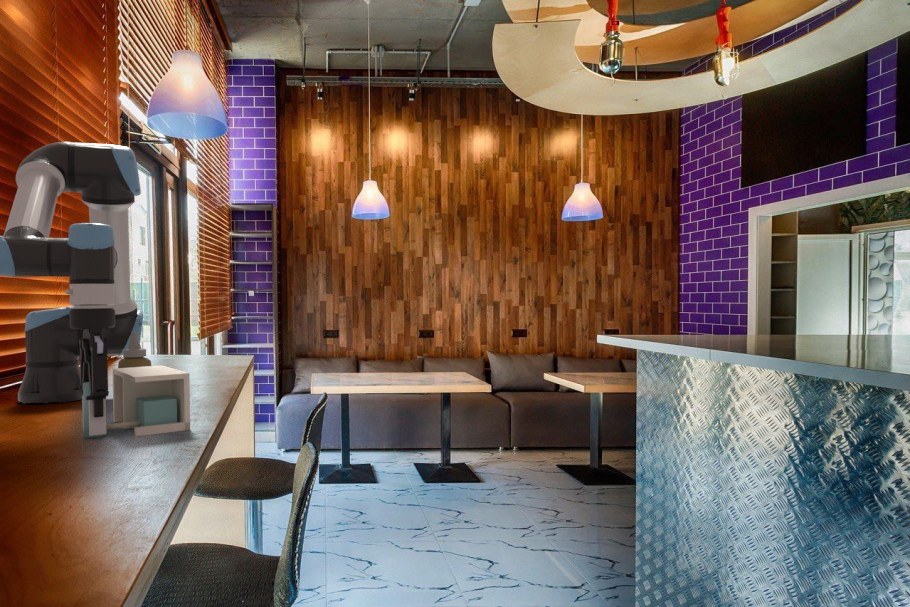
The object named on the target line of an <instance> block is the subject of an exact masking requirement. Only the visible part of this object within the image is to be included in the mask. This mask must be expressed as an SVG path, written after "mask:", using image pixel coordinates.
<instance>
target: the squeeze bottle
mask: <svg viewBox="0 0 910 607" xmlns="http://www.w3.org/2000/svg"><path fill="white" fill-rule="evenodd" d="M141 346H142V345H141V341H140V342H139V338H138V334H137V333H131V337H130V342H129V346H128V349H124V350H123V355H122V357H123V358H121V359H120V360H118V364H117V366H118V367H117V368H130V367H145V366H152V361H151V359H149V358H148V357H146V356H147V348H142V347H141Z"/></svg>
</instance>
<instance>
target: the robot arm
mask: <svg viewBox="0 0 910 607" xmlns="http://www.w3.org/2000/svg"><path fill="white" fill-rule="evenodd" d="M15 182H16V183H15V184H16V186H17V189H16V190H17V191H16V193H15V195H14V200H13V203H12V207H11V210H10V212H9V216H8V219H7V220H8V221H7V223H6V227H5V230H4V233H3V235H0V277H10V278H17V277H18V278H21V277H69V280H68V284H69V285H68V286H69V288H68V289H66V290H65V294H66V295H69V305H70V306H65V307H58V308H50V309H42V310H34V311H31V312H28V314H26V317H25V325H24V327H25V328H24V330H23V331H24V333H25V335H24V336H25V372H24V376H23V378H22V381H21V384H20V387H19V390H18V392H17V402H18V401H19V402H22V403H21V404H26V403H44V404H49V403H48V402H59V403H66V402H67V403H68V402H73V401H80V400H81V402H82V407H81V408H82V410H83V383H85V382H89V386H90V396H87V397H86V400H89V436H93V435H102V434H105V435H106V434H107V430H106V424H107V397H108V396H109V393H110V392H109V375H108V374H109V371H108V370H109V369H108V364H109V363H108V357H111V356H113V357H116V356H118V357H121V356H123V350H124V349H128V346H129V342H130V337H131V333H137V334H138V338H139V342H140V343H141V338H142V331H143V320H144V311H143V310H140V309H138V304H137V302H135V301H134V299H132V298H131V270H130V269H131V266H130V237H129V236H130V235H129V234H130V233H129V230H130V227H129V208H130V207H131V206H133V205H134V204H135V197H138V196H141V194H142V193H141V192H142V189H141V184H140V182H141V181H140V174H139V169H138V164H137V159H136V154H135V151H134V150H133V149H132V148H130V147H129V146H123V145H116V144H109V143H108V144H107V143H89V142H88V143H87V142H85V143H84V142H71V141H59V142H58V141H57V142H56V141H55V142H53V143H49V144H46V145H43V146H41V147H39V148H37V149H35V150H33V151H32V152H31V153H30V154H28V155H27V156H26V157H25V158H24V159H23V160H22V161H21V162H20V164H19V166H18V167H17V170H16V174H15ZM62 193H80V195H81V201H82V203H83V204H84V205H86V206H87V207H88V213H89V215H88V216H89V217H88V218H89V222H81V223H80V222H79V223H73V224H70V226H69V228H68V237H50V234H51V229H52V224H53V220H54V215H55V210H56V205H57V200H58V197H59V196H60V195H62ZM19 402H18V403H19ZM82 431H84V415H83V414H82Z"/></svg>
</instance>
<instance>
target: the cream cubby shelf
mask: <svg viewBox="0 0 910 607" xmlns="http://www.w3.org/2000/svg"><path fill="white" fill-rule="evenodd" d="M190 388H191V387H190V372H187V371H183V370H179V369H176V368H173V367H169V366H165V365H163V364H161V365H151V366H145V367H130V368H118V367H116V368H115V367H114V368H112V415H113V416H112V419H113V420H112V421H113V423H122V422H131V421H137V410H136V398H143V397H154V396H165V395H169V396H172V397H174V398H177V423H168V424H159V425H151V426H142V427H137V426H134V427H125V428H123V429H124V430H127V429H128V430H129V429H133V434H134V435H133V436H135V437H141V436H142V437H143V436H152V435H158V434H165V433H166V434H167V433H175V432H182V431H183V432H184V431H191V406H190V405H191V401H190V400H191V398H190V397H191V394H190V390H191V389H190Z"/></svg>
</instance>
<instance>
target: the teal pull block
mask: <svg viewBox="0 0 910 607" xmlns="http://www.w3.org/2000/svg"><path fill="white" fill-rule="evenodd" d="M87 396H90V386H89V382H85V383H83V409H82V416H83V415H84V430H83V438H84V439H96V438H97V439H98V438H102V437H105V436H106V434H102V435H93V436H89V400H86V397H87ZM136 410H137V421H131V422H113V423H106V431H107V430H112V429H113V430H114V429H124V428H125V427H134V426H137V427H142V426H151V425H159V424H168V423H177V398H174V397H172V396H169V395H165V396H154V397H143V398H136Z"/></svg>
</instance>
